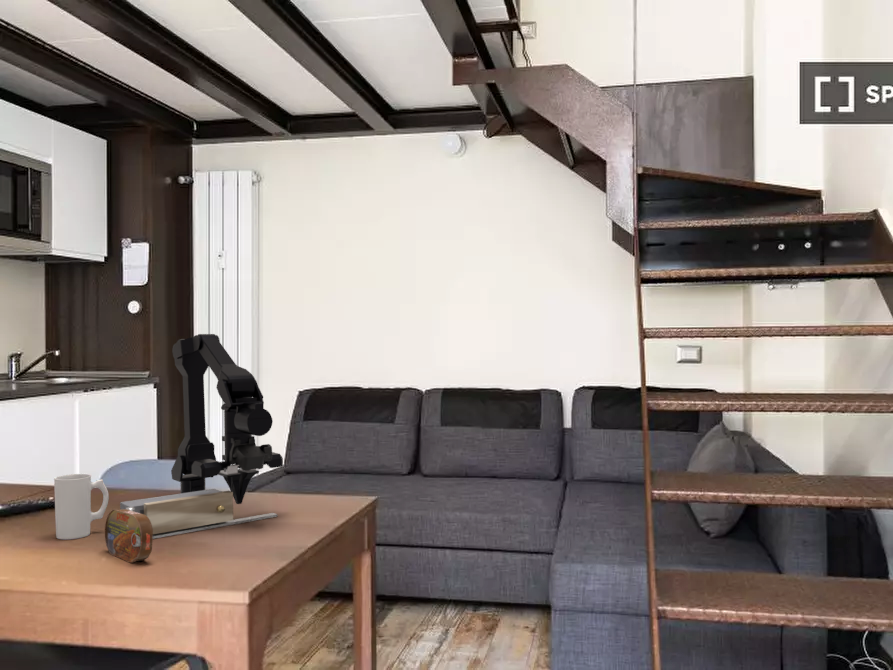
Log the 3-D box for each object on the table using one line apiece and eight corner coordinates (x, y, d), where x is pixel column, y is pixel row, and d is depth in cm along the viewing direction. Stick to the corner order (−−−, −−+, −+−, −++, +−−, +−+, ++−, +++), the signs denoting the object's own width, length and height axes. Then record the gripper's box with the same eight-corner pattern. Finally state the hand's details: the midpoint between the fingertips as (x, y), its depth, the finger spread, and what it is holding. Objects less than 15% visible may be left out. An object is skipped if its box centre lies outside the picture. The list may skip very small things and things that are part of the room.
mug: (55, 541, 149) (54, 481, 149) (54, 534, 155) (53, 475, 155) (110, 535, 154) (109, 476, 154) (107, 527, 160) (107, 471, 160)
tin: (103, 551, 143) (102, 506, 143) (119, 548, 145) (119, 504, 145) (139, 567, 132) (138, 519, 132) (156, 563, 134) (156, 516, 134)
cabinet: (120, 534, 155) (120, 502, 155) (214, 517, 168) (214, 488, 168) (130, 539, 150) (130, 507, 150) (226, 523, 163) (225, 492, 163)
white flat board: (125, 541, 149) (124, 507, 149) (273, 514, 170) (272, 485, 170) (128, 543, 148) (128, 509, 148) (277, 516, 168) (277, 486, 168)
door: (144, 533, 152) (143, 503, 152) (229, 518, 163) (228, 490, 163) (149, 536, 149) (148, 505, 149) (235, 521, 161) (234, 492, 161)
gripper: (212, 439, 151) (213, 517, 151) (294, 431, 164) (295, 503, 164) (190, 434, 160) (191, 508, 160) (270, 426, 172) (271, 495, 172)
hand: (238, 503), depth 164 cm, fingers closed
